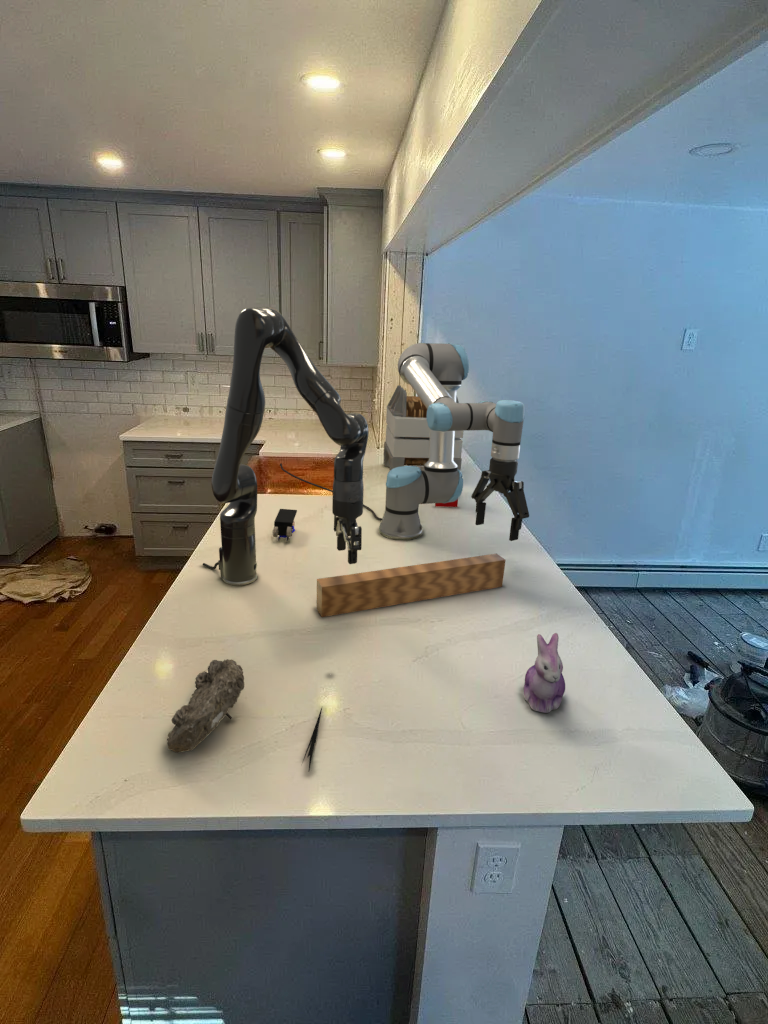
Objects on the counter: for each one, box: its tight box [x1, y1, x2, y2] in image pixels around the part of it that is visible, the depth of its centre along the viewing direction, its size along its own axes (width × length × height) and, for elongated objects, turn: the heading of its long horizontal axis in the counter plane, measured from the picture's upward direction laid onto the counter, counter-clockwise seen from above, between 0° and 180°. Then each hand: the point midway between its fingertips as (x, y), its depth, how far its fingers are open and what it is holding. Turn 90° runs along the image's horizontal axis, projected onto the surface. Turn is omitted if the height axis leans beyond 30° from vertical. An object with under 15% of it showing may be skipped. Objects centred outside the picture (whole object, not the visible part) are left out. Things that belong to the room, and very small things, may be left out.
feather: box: [301, 673, 332, 771], centre depth 108 cm, size 2×28×2 cm
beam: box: [316, 553, 506, 618], centre depth 155 cm, size 54×5×9 cm, turn 113°
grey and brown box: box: [383, 384, 465, 472], centre depth 268 cm, size 34×33×41 cm
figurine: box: [523, 632, 566, 714], centre depth 114 cm, size 9×10×15 cm
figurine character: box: [272, 508, 298, 542], centre depth 192 cm, size 7×8×15 cm
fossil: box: [166, 658, 245, 754], centre depth 106 cm, size 22×10×15 cm
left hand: (346, 556), depth 144 cm, fingers open, 8 cm apart
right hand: (495, 531), depth 160 cm, fingers open, 13 cm apart
